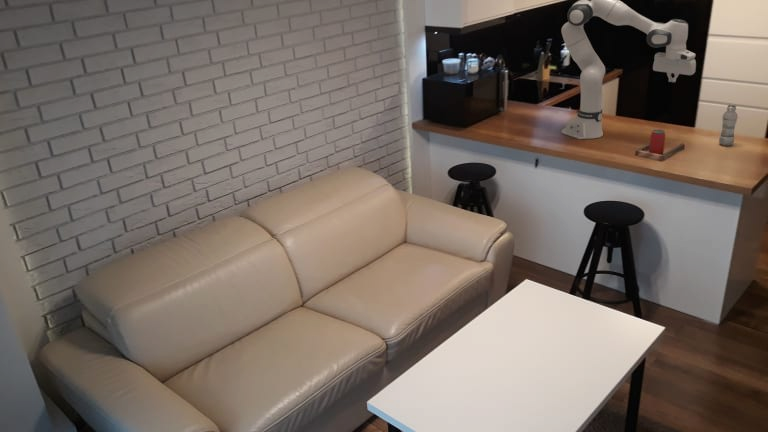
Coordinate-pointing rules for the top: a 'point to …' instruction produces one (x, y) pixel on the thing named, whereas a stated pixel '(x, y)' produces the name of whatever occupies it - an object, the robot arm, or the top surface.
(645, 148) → the walnut channel
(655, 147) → the beer can
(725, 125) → the plastic bottle
